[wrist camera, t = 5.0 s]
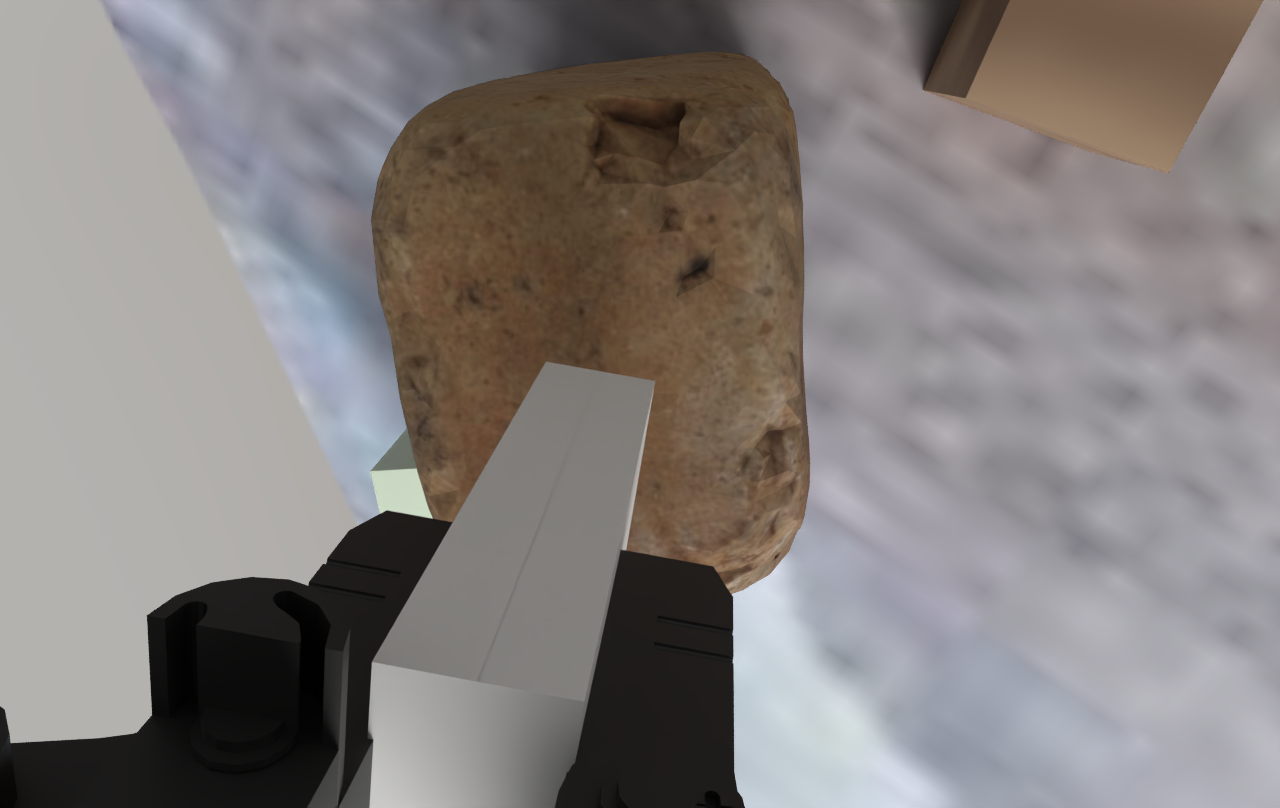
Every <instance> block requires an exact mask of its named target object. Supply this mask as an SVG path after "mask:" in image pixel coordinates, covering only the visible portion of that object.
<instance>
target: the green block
mask: <svg viewBox="0 0 1280 808" xmlns="http://www.w3.org/2000/svg"><path fill="white" fill-rule="evenodd" d="M370 472H371V476H372V481H373V485H374V489H375V494H376V498H377V503H378V507H379V511H380V514H381V513H383V512H385V511H386V510H388V511H394V512H399V513H405V514H410V515H416V516H421V517H427V518H432V515H431V513H430V511H429V508H428V505H427V502H426V499H425V495H424V492H423V489H422V485H421V482H420V479H419V475H418V472H417V468H416V464H415V459H414V455H413V451H412V447H411V442H410V438H409V434H408V430H407V429H406V430H405V431H404V433H403V434H402V435H401V436H400V437H399V439H398V440H397V441H396V442H395V443H394V444H393V446H392V447H391V448H390V449H389V450H388V451H387V453H386V454H385V455H384V456H383V457H382V458H381V460H380V461H379V462H378V463H377V464H376V465H375V467H374V468H373V469H372V470H371V471H370ZM432 519H433V518H432Z"/></svg>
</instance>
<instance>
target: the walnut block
mask: <svg viewBox="0 0 1280 808" xmlns="http://www.w3.org/2000/svg"><path fill="white" fill-rule="evenodd" d="M1262 2H1263V0H962V1H961V4H960V6H959V8H958V11H957V13H956V15H955V18H954V20H953V22H952V24H951V27H950V29H949V31H948V34H947V36H946V38H945V41H944V43H943V45H942V47H941V50H940V52H939V54H938V57H937V59H936V61H935V64H934V66H933V68H932V71H931V73H930V75H929V77H928V80H927V82H926V84H925V87H924V89H923V90H924V91H927V92H930V93H933V94H935V95H938V96H941V97H943V98H946V99H949V100H952V101H954V102H957V103H960V104H962V105H965V106H968V107H970V108H973V109H976V110H979V111H981V112H984V113H987V114H989V115H992V116H995V117H997V118H1000V119H1003V120H1006V121H1008V122H1011V123H1014V124H1016V125H1019V126H1022V127H1025V128H1027V129H1030V130H1033V131H1035V132H1038V133H1041V134H1043V135H1046V136H1049V137H1052V138H1054V139H1057V140H1060V141H1062V142H1065V143H1068V144H1070V145H1073V146H1076V147H1079V148H1081V149H1084V150H1087V151H1089V152H1093V153H1096V154H1100V155H1104V156H1107V157H1111V158H1114V159H1118V160H1122V161H1125V162H1129V163H1132V164H1136V165H1140V166H1143V167H1147V168H1150V169H1154V170H1158V171H1161V172H1165V173H1169V171H1170V170H1171V168H1172V166H1173V164H1174V162H1175V161H1176V159H1177V157H1178V155H1179V153H1180V151H1181V150H1182V148H1183V146H1184V144H1185V142H1186V140H1187V139H1188V137H1189V135H1190V133H1191V131H1192V130H1193V128H1194V126H1195V124H1196V122H1197V120H1198V119H1199V117H1200V115H1201V113H1202V111H1203V110H1204V108H1205V106H1206V104H1207V102H1208V100H1209V99H1210V97H1211V95H1212V93H1213V91H1214V89H1215V88H1216V86H1217V84H1218V82H1219V80H1220V79H1221V77H1222V75H1223V73H1224V71H1225V69H1226V68H1227V66H1228V64H1229V62H1230V60H1231V58H1232V57H1233V55H1234V53H1235V51H1236V49H1237V48H1238V46H1239V44H1240V42H1241V40H1242V38H1243V37H1244V35H1245V33H1246V31H1247V29H1248V27H1249V26H1250V24H1251V22H1252V20H1253V18H1254V17H1255V15H1256V13H1257V11H1258V9H1259V7H1260V6H1261V4H1262Z"/></svg>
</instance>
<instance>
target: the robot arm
mask: <svg viewBox="0 0 1280 808" xmlns="http://www.w3.org/2000/svg"><path fill="white" fill-rule="evenodd" d="M654 385H655V381H652V380H647V379H641V378H635V377H630V376H624V375H618V374H613V373H607V372H602V371H596V370H590V369H585V368H579V367H573V366H568V365H562V364H556V363H551V362H545V364H544V366H543V368H542V369H541V371H540V373H539V375H538V376H537V378H536V380H535V381H534V383H533V385H532V387H531V388H530V390H529V392H528V394H527V395H526V397H525V399H524V400H523V402H522V404H521V406H520V407H519V409H518V411H517V413H516V414H515V416H514V418H513V419H512V421H511V423H510V425H509V426H508V428H507V430H506V432H505V433H504V435H503V437H502V438H501V440H500V442H499V444H498V445H497V447H496V449H495V451H494V452H493V454H492V456H491V457H490V459H489V461H488V463H487V464H486V466H485V468H484V469H483V471H482V473H481V475H480V476H479V478H478V480H477V482H476V483H475V485H474V487H473V488H472V490H471V492H470V494H469V495H468V497H467V499H466V501H465V502H464V504H463V506H462V507H461V509H460V511H459V513H458V514H457V516H456V518H455V520H454V521H453V522H448V521H443V520H438V519H432V518H427V517H421V516H416V515H410V514H405V513H399V512H394V511H388V510H386V511H385V512H383V513H381V514H379V515H377V516H375V517H373V518H372V519H370V520H368V521H366V522H364V523H362V524H360V525H359V526H357V527H355V528H353V529H351V530H350V531H349V532H348V533H347V534H346V535H345V537H344V538H343V539H342V541H341V542H340V543H339V544H338V546H337V547H336V548H335V550H334V551H333V552H332V553H331V555H330V556H329V557H328V559H327V563H326V564H323V565H322V566H321V567H320V569H319V570H318V571H317V572H316V574H315V575H314V577H313V578H312V579H311V580H310V582H309V585H308V586H307V585H304V584H301V583H298V582H295V581H292V580H287V579H272V578H256V577H249V578H241V579H234V580H227V581H220V582H213V583H210V584H207V585H204V586H201V587H198V588H196V589H193V590H190V591H187V592H184V593H182V594H179V595H176V596H174V597H173V598H172V599H170V600H169V601H167V602H166V603H164V604H163V605H161V606H160V607H159V608H157V609H156V610H154V611H153V612H151V613H150V614H149V615H147V623H148V644H149V663H150V681H151V700H152V716H151V717H150V718H149V719H148V720H147V722H146V723H145V724H144V725H143V726H142V727H141V729H140V730H139V731H138V732H137V733H134V734H129V735H121V736H113V737H106V738H96V739H78V740H61V741H43V742H26V743H10V735H9V730H8V725H7V719H6V714H5V710H4V709H3V708H2V707H0V808H745V807H744V803H743V799H742V797H741V795H740V794H739V793H738V792H737V786H736V780H735V774H734V681H733V663H732V662H733V636H732V633H733V596H732V595H731V593H730V592H729V590H728V589H727V587H726V585H725V584H724V582H723V581H722V579H721V578H720V576H719V574H718V573H717V571H716V570H715V568H714V567H713V566H709V565H703V564H698V563H692V562H687V561H681V560H676V559H670V558H665V557H659V556H654V555H648V554H643V553H637V552H632V551H626V548H627V542H628V536H629V530H630V525H631V519H632V513H633V507H634V501H635V496H636V490H637V484H638V478H639V472H640V466H641V461H642V455H643V449H644V443H645V437H646V431H647V426H648V420H649V414H650V408H651V402H652V396H653V391H654Z"/></svg>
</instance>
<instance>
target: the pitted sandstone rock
mask: <svg viewBox="0 0 1280 808" xmlns="http://www.w3.org/2000/svg"><path fill="white" fill-rule="evenodd" d="M371 223H372V233H373V243H374V253H375V263H376V273H377V283H378V293H379V297H380V301H381V304H382V308H383V311H384V315H385V318H386V322H387V325H388V329H389V332H390V335H391V340H392V347H393V354H394V361H395V368H396V374H397V381H398V388H399V395H400V400H401V404H402V409H403V413H404V417H405V421H406V426H407V430H408V434H409V438H410V442H411V447H412V451H413V455H414V459H415V464H416V468H417V472H418V475H419V479H420V482H421V485H422V489H423V492H424V495H425V499H426V502H427V505H428V508H429V511H430V513H431V515H432V518H433V519H438V520H443V521H448V522H453V521H454V520H455V518H456V516H457V514H458V513H459V511H460V509H461V507H462V506H463V504H464V502H465V501H466V499H467V497H468V495H469V494H470V492H471V490H472V488H473V487H474V485H475V483H476V482H477V480H478V478H479V476H480V475H481V473H482V471H483V469H484V468H485V466H486V464H487V463H488V461H489V459H490V457H491V456H492V454H493V452H494V451H495V449H496V447H497V445H498V444H499V442H500V440H501V438H502V437H503V435H504V433H505V432H506V430H507V428H508V426H509V425H510V423H511V421H512V419H513V418H514V416H515V414H516V413H517V411H518V409H519V407H520V406H521V404H522V402H523V400H524V399H525V397H526V395H527V394H528V392H529V390H530V388H531V387H532V385H533V383H534V381H535V380H536V378H537V376H538V375H539V373H540V371H541V369H542V368H543V366H544V364H545V362H551V363H556V364H562V365H568V366H573V367H579V368H585V369H590V370H596V371H602V372H607V373H613V374H618V375H624V376H630V377H635V378H641V379H647V380H652V381H655V385H654V391H653V396H652V402H651V408H650V414H649V420H648V426H647V431H646V437H645V443H644V449H643V455H642V461H641V466H640V472H639V478H638V484H637V490H636V496H635V501H634V507H633V513H632V519H631V525H630V530H629V536H628V542H627V548H626V551H632V552H637V553H643V554H648V555H654V556H659V557H665V558H670V559H676V560H681V561H687V562H692V563H698V564H703V565H709V566H713V567H714V568H715V570H716V571H717V573H718V574H719V576H720V578H721V579H722V581H723V582H724V584H725V585H726V587H727V589H728V590H729V592H730V593H731V594H733V593H736V592H739V591H742V590H744V589H745V588H747V587H749V586H750V585H752V584H754V583H755V582H757V581H759V580H761V579H762V578H764V577H766V576H768V575H769V574H770V573H771V572H772V571H773V570H774V568H775V567H776V566H777V565H778V564H779V562H780V561H781V560H782V559H783V558H784V556H785V555H786V554H787V553H788V552H789V550H790V547H791V545H792V543H793V540H794V538H795V535H796V533H797V531H798V530H799V529H800V527H801V525H802V522H803V519H804V515H805V509H806V503H807V497H808V491H809V484H810V453H809V437H808V426H807V415H806V400H805V383H804V367H803V303H804V238H803V202H802V188H801V175H800V162H799V152H798V141H797V133H796V126H795V120H794V114H793V110H792V108H791V107H790V105H789V99H788V98H787V96H786V94H785V92H784V90H783V89H782V87H781V85H780V83H779V82H778V81H777V80H776V79H774V78H773V77H772V76H771V74H770V72H769V71H768V70H767V69H766V68H764V67H763V66H762V65H761V64H760V63H759V62H757V61H756V60H754V59H752V58H750V57H748V56H746V55H743V54H738V53H729V52H699V53H687V54H675V55H665V56H656V57H647V58H638V59H629V60H621V61H612V62H603V63H592V64H585V65H579V66H573V67H567V68H560V69H553V70H547V71H541V72H536V73H531V74H526V75H519V76H515V77H510V78H504V79H497V80H493V81H489V82H486V83H482V84H478V85H475V86H471V87H468V88H464V89H461V90H457V91H454V92H452V93H450V94H448V95H446V96H444V97H442V98H440V99H439V100H437V101H435V102H433V103H431V104H429V105H427V106H426V107H425V108H424V109H423V110H421V111H420V112H419V113H418V114H417V115H415V116H414V117H413V118H412V119H411V120H409V121H408V123H407V124H406V126H405V127H404V129H403V130H402V132H401V133H400V135H399V136H398V138H397V139H396V141H395V142H394V144H393V145H392V147H391V149H390V151H389V153H388V156H387V158H386V160H385V162H384V165H383V167H382V170H381V173H380V175H379V178H378V182H377V188H376V193H375V199H374V205H373V211H372V219H371Z"/></svg>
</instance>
